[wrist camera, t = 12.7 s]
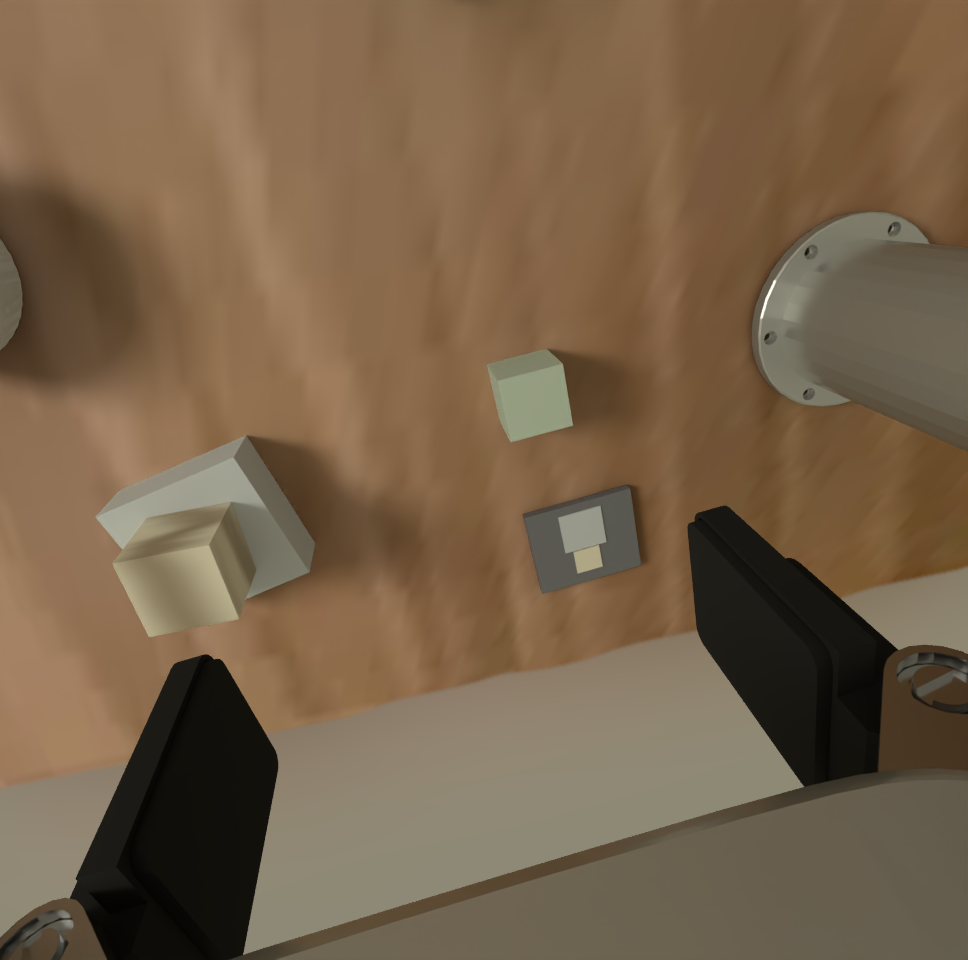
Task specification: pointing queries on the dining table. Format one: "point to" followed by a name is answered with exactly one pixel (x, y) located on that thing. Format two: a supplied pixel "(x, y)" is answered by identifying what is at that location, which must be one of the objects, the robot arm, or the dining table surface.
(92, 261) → the dining table surface
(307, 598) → the dining table surface
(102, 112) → the dining table surface
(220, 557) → the cream cube
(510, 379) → the sage cube
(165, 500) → the grey base block
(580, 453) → the dining table surface
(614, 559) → the card
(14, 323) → the ramekin
